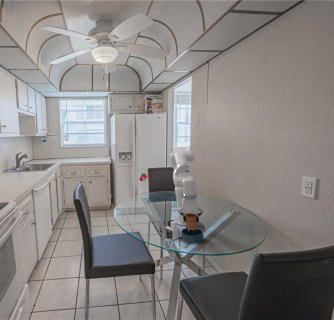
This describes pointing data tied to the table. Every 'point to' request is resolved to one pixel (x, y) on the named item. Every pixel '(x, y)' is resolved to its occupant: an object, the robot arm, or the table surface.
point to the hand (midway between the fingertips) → (191, 221)
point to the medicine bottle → (172, 230)
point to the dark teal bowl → (192, 235)
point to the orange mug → (191, 221)
